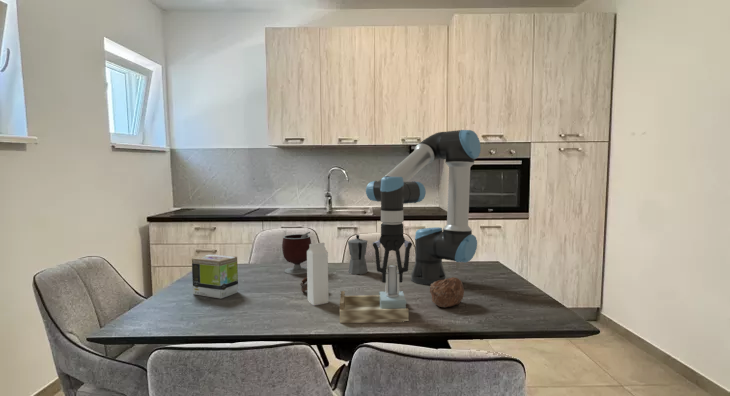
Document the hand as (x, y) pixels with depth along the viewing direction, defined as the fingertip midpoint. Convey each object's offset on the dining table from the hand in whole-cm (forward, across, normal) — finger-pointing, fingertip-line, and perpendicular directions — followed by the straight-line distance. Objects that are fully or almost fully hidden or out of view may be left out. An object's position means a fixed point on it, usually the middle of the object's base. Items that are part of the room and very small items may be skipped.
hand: (392, 291), depth 132 cm
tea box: (+8, +68, -25) cm, 73 cm away
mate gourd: (+8, +40, -58) cm, 71 cm away
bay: (+8, +6, -2) cm, 10 cm away
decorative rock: (+8, -20, -8) cm, 23 cm away
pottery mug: (+8, +29, -26) cm, 40 cm away
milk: (+8, +26, -13) cm, 31 cm away
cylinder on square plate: (+6, 0, 0) cm, 6 cm away
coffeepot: (+8, +12, -54) cm, 56 cm away
